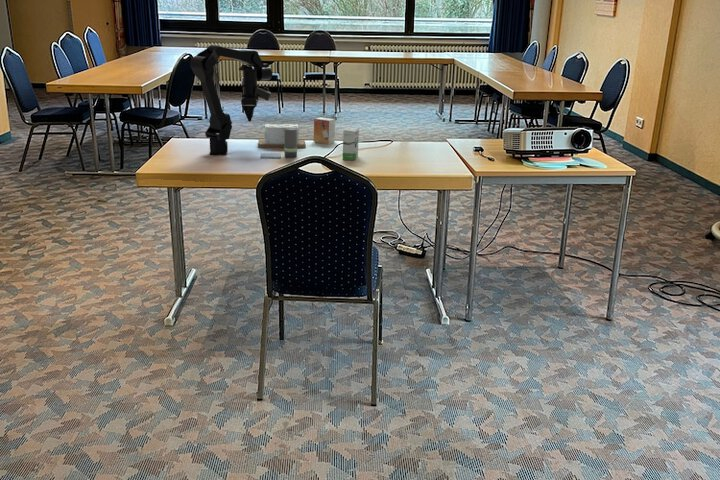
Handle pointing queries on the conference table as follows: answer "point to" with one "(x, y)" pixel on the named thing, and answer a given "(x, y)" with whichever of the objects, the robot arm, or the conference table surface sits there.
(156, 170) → the conference table surface
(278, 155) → the slate mat
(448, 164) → the conference table surface
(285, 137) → the cartridge
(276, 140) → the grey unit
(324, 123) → the small box
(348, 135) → the ink box
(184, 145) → the conference table surface
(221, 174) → the conference table surface
